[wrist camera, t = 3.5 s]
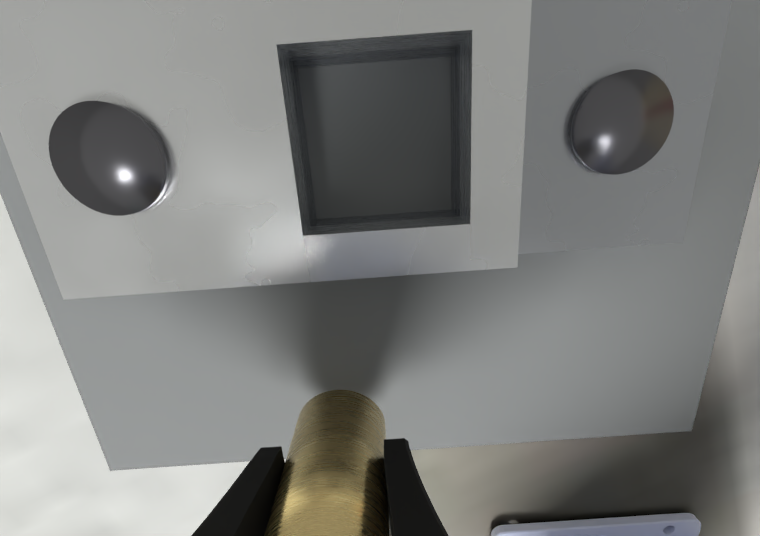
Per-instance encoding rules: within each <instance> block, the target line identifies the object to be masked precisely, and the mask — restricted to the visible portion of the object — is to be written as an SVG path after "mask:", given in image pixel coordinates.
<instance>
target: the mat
mask: <svg viewBox="0 0 760 536" xmlns="http://www.w3.org/2000/svg"><path fill="white" fill-rule="evenodd" d="M298 73H299V81H300V89H301V97H302V105H303V113H304V121H305V129H306V137H307V145H308V153H309V161H310V169H311V177H312V185H313V193H314V200H315V208H316V216H317V219H326V218H340V217H354V216H368V215H382V214H396V213H410V212H424V211H438V210H451V64H450V57H438V58H424V59H411V60H397V61H384V62H370V63H357V64H344V65H330V66H317V67H303V68H298ZM759 164H760V0H732V3H731V8H730V13H729V18H728V23H727V28H726V33H725V38H724V43H723V48H722V53H721V58H720V63H719V68H718V73H717V78H716V83H715V87H714V92H713V97H712V102H711V107H710V112H709V117H708V122H707V127H706V132H705V137H704V142H703V147H702V152H701V157H700V162H699V167H698V171H697V176H696V181H695V186H694V191H693V196H692V201H691V206H690V211H689V216H688V221H687V226H686V231H685V236H684V241H683V242H681V243H667V244H653V245H639V246H625V247H611V248H597V249H582V250H568V251H554V252H540V253H526V254H518V266H517V268H502V269H488V270H474V271H460V272H446V273H432V274H418V275H404V276H390V277H375V278H361V279H347V280H333V281H319V282H305V283H291V284H277V285H263V286H248V287H234V288H220V289H206V290H192V291H178V292H164V293H150V294H136V295H121V296H107V297H93V298H79V299H65V300H63V297H62V295H61V292H60V289H59V287H58V284H57V281H56V279H55V276H54V273H53V271H52V268H51V266H50V263H49V260H48V258H47V255H46V252H45V250H44V247H43V244H42V242H41V239H40V236H39V234H38V231H37V228H36V226H35V223H34V220H33V218H32V215H31V212H30V210H29V207H28V204H27V202H26V199H25V196H24V194H23V191H22V189H21V186H20V183H19V181H18V178H17V175H16V173H15V170H14V167H13V165H12V162H11V159H10V157H9V154H8V151H7V149H6V146H5V143H4V141H3V138H2V135H1V133H0V194H1V196H2V199H3V201H4V204H5V206H6V209H7V211H8V214H9V216H10V219H11V221H12V224H13V226H14V229H15V231H16V234H17V236H18V239H19V241H20V244H21V247H22V249H23V252H24V254H25V257H26V259H27V262H28V264H29V267H30V269H31V272H32V274H33V277H34V279H35V282H36V284H37V287H38V289H39V292H40V294H41V297H42V299H43V302H44V305H45V307H46V310H47V312H48V315H49V317H50V320H51V322H52V325H53V327H54V330H55V332H56V335H57V337H58V340H59V342H60V345H61V347H62V350H63V352H64V355H65V358H66V360H67V363H68V365H69V368H70V370H71V373H72V375H73V378H74V380H75V383H76V385H77V388H78V390H79V393H80V395H81V398H82V400H83V403H84V405H85V408H86V410H87V413H88V416H89V418H90V421H91V423H92V426H93V428H94V431H95V433H96V436H97V438H98V441H99V443H100V446H101V448H102V451H103V453H104V456H105V458H106V461H107V463H108V466H109V469H110V471H112V470H126V469H141V468H156V467H170V466H185V465H200V464H214V463H229V462H244V461H251V459H252V458H253V457H254V455H255V454H256V453H257V451H258V450H259V449H260V448H263V447H278V446H281V447H282V452H283V457H284V459H286V458H287V455H288V451H289V448H290V444H291V441H292V437H293V434H294V430H295V427H296V424H297V420H298V417H299V414H300V411H301V410H302V408H303V407H304V405H305V404H306V403H307V402H308V401H309V400H310V399H312V398H313V397H315V396H317V395H319V394H321V393H324V392H327V391H331V390H350V391H354V392H357V393H360V394H362V395H365V396H366V397H368V398H370V399H371V400H372V401H373V402H375V404H376V405H377V406H378V407H379V408H380V410H381V411H382V413H383V416H384V419H385V428H386V439H400V438H405V439H406V440H407V441H408V442H409V447H410V450H420V449H435V448H450V447H464V446H479V445H494V444H508V443H523V442H538V441H552V440H567V439H582V438H597V437H611V436H626V435H641V434H655V433H670V432H685V431H692V428H693V424H694V420H695V416H696V412H697V408H698V404H699V400H700V396H701V393H702V389H703V385H704V381H705V377H706V373H707V369H708V365H709V361H710V357H711V353H712V349H713V345H714V341H715V337H716V333H717V329H718V325H719V322H720V318H721V314H722V310H723V306H724V302H725V298H726V294H727V290H728V286H729V282H730V278H731V274H732V270H733V266H734V262H735V258H736V254H737V250H738V247H739V243H740V239H741V235H742V231H743V227H744V223H745V219H746V215H747V211H748V207H749V203H750V199H751V195H752V191H753V187H754V183H755V179H756V175H757V172H758V168H759Z"/></svg>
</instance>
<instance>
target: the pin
mask: <svg viewBox="0 0 760 536" xmlns="http://www.w3.org/2000/svg"><path fill="white" fill-rule="evenodd" d="M385 439H386V428H385V419H384V416H383V413H382V411H381V410H380V408H379V407H378V406H377V405H376V404H375V402H373V401H372V400H371V399H370V398H368V397H366V396H365V395H362V394H360V393H357V392H354V391H350V390H331V391H327V392H324V393H321V394H319V395H317V396H315V397H313V398H312V399H310V400H309V401H308V402H307V403H306V404H305V405H304V407H303V408H302V410H301V411H300V414H299V417H298V420H297V424H296V427H295V430H294V434H293V437H292V441H291V444H290V448H289V451H288V455H287V458H286V462H285V465H284V469H283V472H282V476H281V479H280V483H279V486H278V489H277V493H276V496H275V500H274V503H273V507H272V510H271V514H270V517H269V521H268V524H267V528H266V531H265V535H264V536H390V532H389V509H388V500H387V491H386V480H385V468H384V440H385Z"/></svg>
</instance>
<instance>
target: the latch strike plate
mask: <svg viewBox="0 0 760 536" xmlns="http://www.w3.org/2000/svg"><path fill="white" fill-rule="evenodd" d="M731 3H732V0H0V133H1V135H2V138H3V141H4V143H5V146H6V149H7V151H8V154H9V157H10V159H11V162H12V165H13V167H14V170H15V173H16V175H17V178H18V181H19V183H20V186H21V189H22V191H23V194H24V196H25V199H26V202H27V204H28V207H29V210H30V212H31V215H32V218H33V220H34V223H35V226H36V228H37V231H38V234H39V236H40V239H41V242H42V244H43V247H44V250H45V252H46V255H47V258H48V260H49V263H50V266H51V268H52V271H53V273H54V276H55V279H56V281H57V284H58V287H59V289H60V292H61V295H62V297H63V300H65V299H79V298H93V297H107V296H121V295H136V294H150V293H164V292H178V291H192V290H206V289H220V288H234V287H248V286H263V285H277V284H291V283H305V282H319V281H333V280H347V279H361V278H375V277H390V276H404V275H418V274H432V273H446V272H460V271H474V270H488V269H502V268H517V266H518V254H526V253H540V252H554V251H568V250H582V249H597V248H611V247H625V246H639V245H653V244H667V243H681V242H683V241H684V236H685V231H686V226H687V221H688V216H689V211H690V206H691V201H692V196H693V191H694V186H695V181H696V176H697V171H698V167H699V162H700V157H701V152H702V147H703V142H704V137H705V132H706V127H707V122H708V117H709V112H710V107H711V102H712V97H713V92H714V87H715V83H716V78H717V73H718V68H719V63H720V58H721V53H722V48H723V43H724V38H725V33H726V28H727V23H728V18H729V13H730V8H731ZM438 57H450V64H451V210H438V211H424V212H410V213H396V214H382V215H368V216H354V217H340V218H326V219H317V216H316V208H315V200H314V193H313V185H312V177H311V169H310V161H309V153H308V145H307V137H306V129H305V121H304V113H303V105H302V97H301V89H300V81H299V73H298V68H303V67H317V66H330V65H344V64H357V63H370V62H384V61H397V60H411V59H424V58H438Z"/></svg>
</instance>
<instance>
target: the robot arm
mask: <svg viewBox="0 0 760 536" xmlns="http://www.w3.org/2000/svg"><path fill="white" fill-rule="evenodd" d="M284 465H285V462H284V457H283V452H282V447H281V446H278V447H263V448H260V449H259V450H258V451H257V453H256V454H255V455H254V457H253V458H252V459H251V461H250V462H249V464H248V465H247V466H246V468H245V469H244V470H243V472H242V473H241V474H240V476H239V477H238V478H237V480H236V481H235V482H234V483H233V485H232V486H231V487H230V489H229V490H228V491H227V493H226V494H225V495H224V496H223V498H222V499H221V500H220V501H219V503H218V504H217V505H216V507H215V508H214V509H213V510H212V512H211V513H210V514H209V515H208V517H207V518H206V519H205V520H204V521H203V523H202V524H201V525H200V526H199V527H198V529H197V530H196V531H195V532H194V533H193V534H192V536H264V535H265V531H266V528H267V524H268V521H269V517H270V514H271V510H272V507H273V503H274V500H275V496H276V493H277V489H278V486H279V483H280V479H281V476H282V472H283V469H284ZM384 468H385V480H386V491H387V500H388V509H389V527H390V536H448V534H447V532H446V530H445V528H444V527H443V525H442V523H441V521H440V519H439V517H438V515H437V513H436V511H435V509H434V507H433V505H432V503H431V501H430V499H429V497H428V494H427V492H426V490H425V488H424V486H423V483H422V481H421V479H420V476H419V474H418V471H417V469H416V466H415V463H414V461H413V457H412V454H411V451H410V447H409V442H408V441H407V440H406V439H405V438H400V439H385V440H384ZM700 529H701V523H700V521H699V520H698V519H697V518H696V517H695V515H693V514H691V513H673V514H658V515H643V516H628V517H613V518H598V519H583V520H568V521H553V522H538V523H523V524H508V525H499V526H497V527H495V528H494V529H493V530H492V532H491V536H699V532H700Z"/></svg>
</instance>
